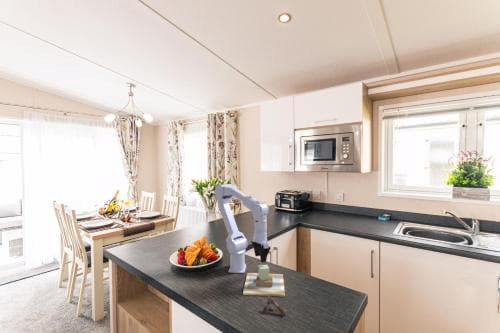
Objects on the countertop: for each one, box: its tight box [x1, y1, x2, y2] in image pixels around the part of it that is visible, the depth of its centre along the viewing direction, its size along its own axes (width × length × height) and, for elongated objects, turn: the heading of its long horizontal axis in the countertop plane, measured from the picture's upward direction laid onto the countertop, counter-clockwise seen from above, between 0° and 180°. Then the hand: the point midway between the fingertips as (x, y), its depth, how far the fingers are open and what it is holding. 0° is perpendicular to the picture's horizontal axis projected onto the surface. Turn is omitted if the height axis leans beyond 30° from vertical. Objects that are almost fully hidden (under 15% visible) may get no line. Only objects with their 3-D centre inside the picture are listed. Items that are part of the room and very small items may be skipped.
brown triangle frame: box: [265, 296, 287, 317], centre depth 87 cm, size 2×8×4 cm, turn 52°
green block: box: [257, 264, 270, 281], centre depth 106 cm, size 4×4×5 cm
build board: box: [242, 272, 286, 298], centre depth 106 cm, size 18×17×3 cm
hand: (260, 258), depth 111 cm, fingers open, 7 cm apart
